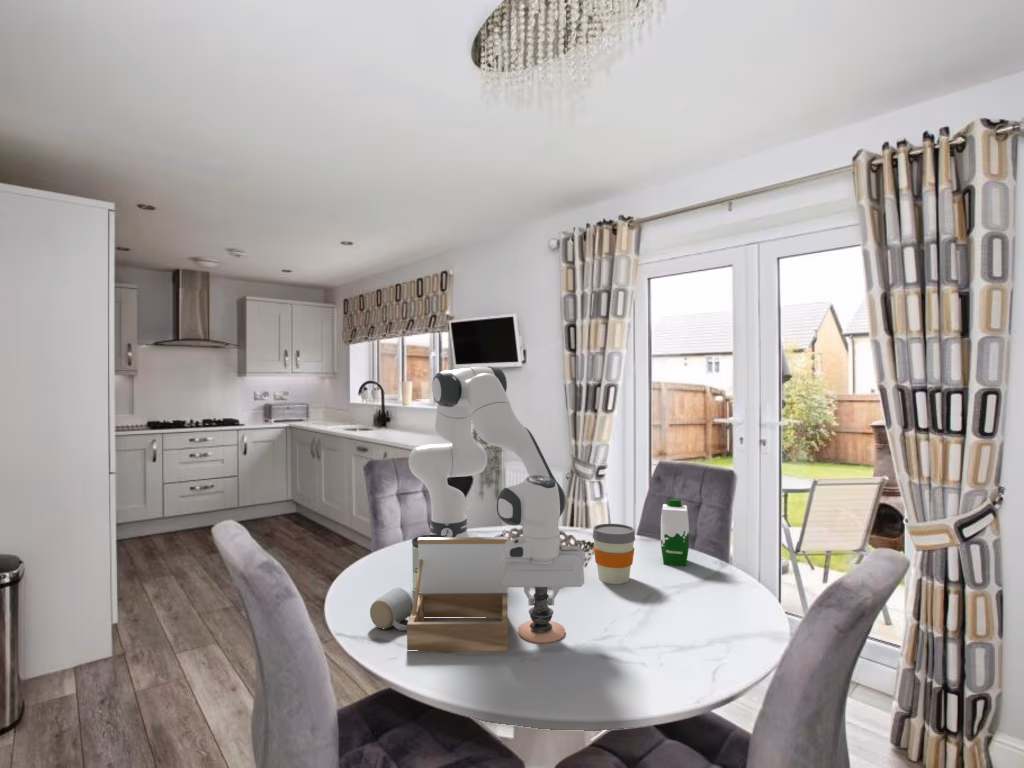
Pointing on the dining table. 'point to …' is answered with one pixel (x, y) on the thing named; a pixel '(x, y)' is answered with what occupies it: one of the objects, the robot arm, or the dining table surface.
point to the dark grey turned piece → (541, 611)
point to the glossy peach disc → (541, 633)
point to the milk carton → (674, 532)
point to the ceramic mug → (392, 609)
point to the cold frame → (459, 623)
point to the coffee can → (415, 556)
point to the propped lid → (458, 565)
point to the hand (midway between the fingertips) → (541, 604)
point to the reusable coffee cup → (613, 552)
